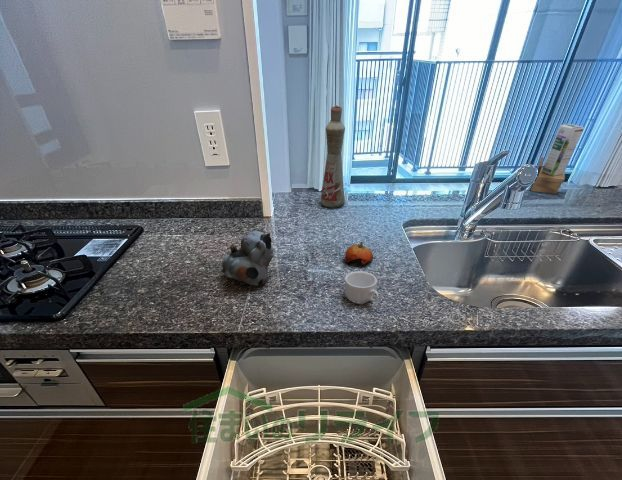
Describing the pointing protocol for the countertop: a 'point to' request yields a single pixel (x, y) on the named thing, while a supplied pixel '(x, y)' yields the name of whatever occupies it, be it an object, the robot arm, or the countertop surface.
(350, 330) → the countertop surface
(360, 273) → the teacup
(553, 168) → the syrup box
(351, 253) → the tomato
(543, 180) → the small cardboard box
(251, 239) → the lucky cat figurine
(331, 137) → the bottle
